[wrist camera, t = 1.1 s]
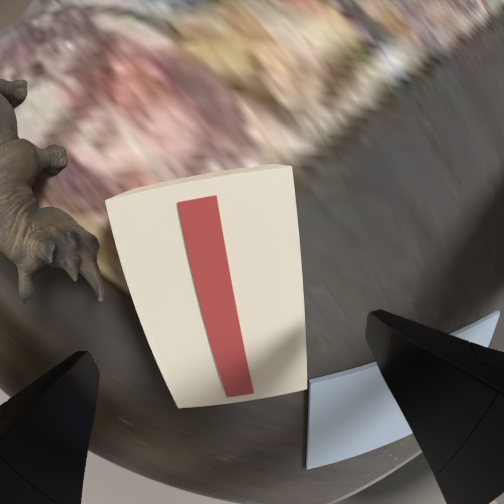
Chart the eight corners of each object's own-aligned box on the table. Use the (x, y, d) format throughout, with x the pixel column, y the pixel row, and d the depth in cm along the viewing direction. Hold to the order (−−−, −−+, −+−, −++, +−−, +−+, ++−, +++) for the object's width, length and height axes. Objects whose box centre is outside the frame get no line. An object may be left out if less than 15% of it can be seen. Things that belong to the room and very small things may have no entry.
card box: (271, 163, 12) (292, 166, 8) (290, 344, 15) (307, 390, 11) (135, 188, 11) (103, 200, 8) (183, 361, 14) (177, 409, 11)
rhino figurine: (97, 295, 13) (43, 373, 7) (-23, 113, 8) (-93, 115, 2) (150, 248, 12) (103, 320, 6) (17, 57, 8) (-53, 36, 2)
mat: (497, 310, 17) (500, 312, 16) (456, 406, 21) (458, 408, 21) (308, 379, 16) (310, 384, 15) (305, 466, 20) (306, 469, 20)
